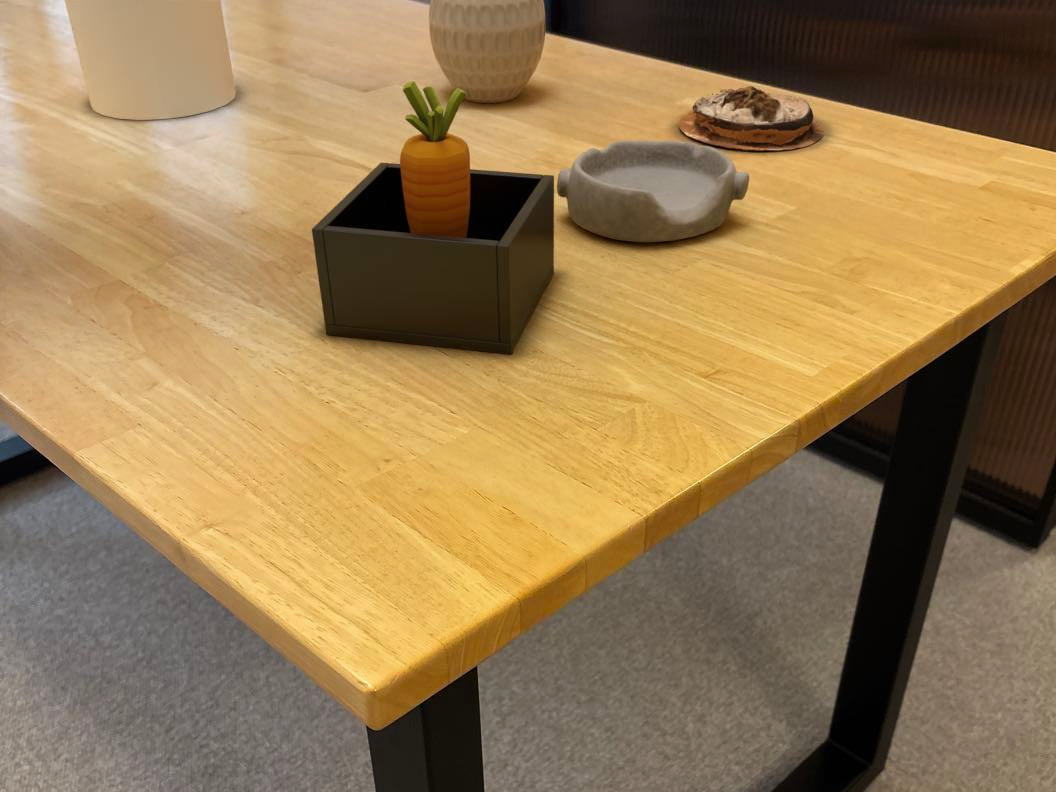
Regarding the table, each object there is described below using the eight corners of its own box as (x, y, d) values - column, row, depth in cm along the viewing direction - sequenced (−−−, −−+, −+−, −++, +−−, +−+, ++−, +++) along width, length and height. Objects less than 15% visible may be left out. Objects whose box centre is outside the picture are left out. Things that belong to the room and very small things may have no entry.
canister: (206, 72, 132) (171, -118, 120) (258, 103, 122) (225, -102, 109) (73, 94, 125) (21, -106, 113) (115, 129, 115) (63, -88, 102)
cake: (849, 125, 114) (855, 83, 112) (775, 162, 105) (781, 118, 103) (729, 99, 122) (733, 60, 119) (652, 132, 113) (654, 90, 110)
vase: (431, 113, 118) (419, -59, 108) (436, 81, 129) (426, -80, 118) (548, 111, 119) (547, -61, 109) (543, 79, 129) (543, -81, 119)
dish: (761, 218, 94) (768, 160, 91) (656, 265, 86) (659, 203, 83) (636, 177, 102) (638, 123, 99) (530, 216, 94) (529, 159, 91)
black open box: (325, 334, 77) (311, 228, 72) (389, 259, 87) (380, 162, 83) (511, 354, 74) (508, 246, 70) (554, 274, 85) (554, 175, 80)
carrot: (488, 285, 81) (480, 75, 72) (457, 312, 78) (445, 95, 69) (431, 274, 83) (416, 67, 74) (397, 300, 79) (377, 86, 70)
